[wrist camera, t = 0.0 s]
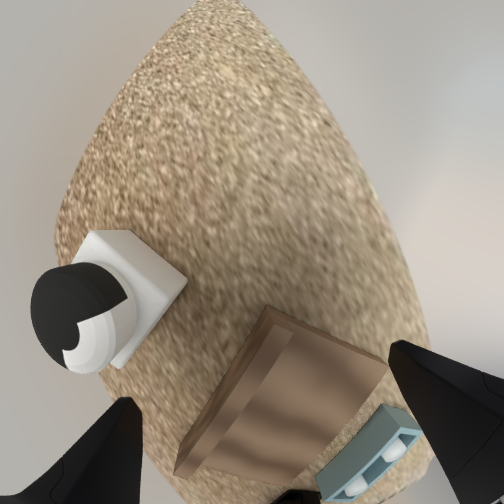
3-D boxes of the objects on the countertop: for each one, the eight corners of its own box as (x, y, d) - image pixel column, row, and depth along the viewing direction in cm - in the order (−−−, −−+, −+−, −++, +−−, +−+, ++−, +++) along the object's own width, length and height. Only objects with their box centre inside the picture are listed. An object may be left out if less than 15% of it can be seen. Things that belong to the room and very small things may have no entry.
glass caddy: (341, 479, 26) (352, 504, 21) (314, 476, 26) (324, 504, 20) (405, 410, 26) (426, 433, 20) (381, 403, 25) (402, 429, 20)
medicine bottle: (91, 288, 22) (7, 325, 10) (129, 228, 22) (44, 228, 10) (147, 337, 23) (90, 409, 11) (190, 279, 23) (146, 327, 11)
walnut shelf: (283, 475, 25) (288, 503, 20) (179, 445, 24) (172, 474, 19) (380, 358, 25) (404, 380, 20) (266, 304, 23) (274, 324, 18)
